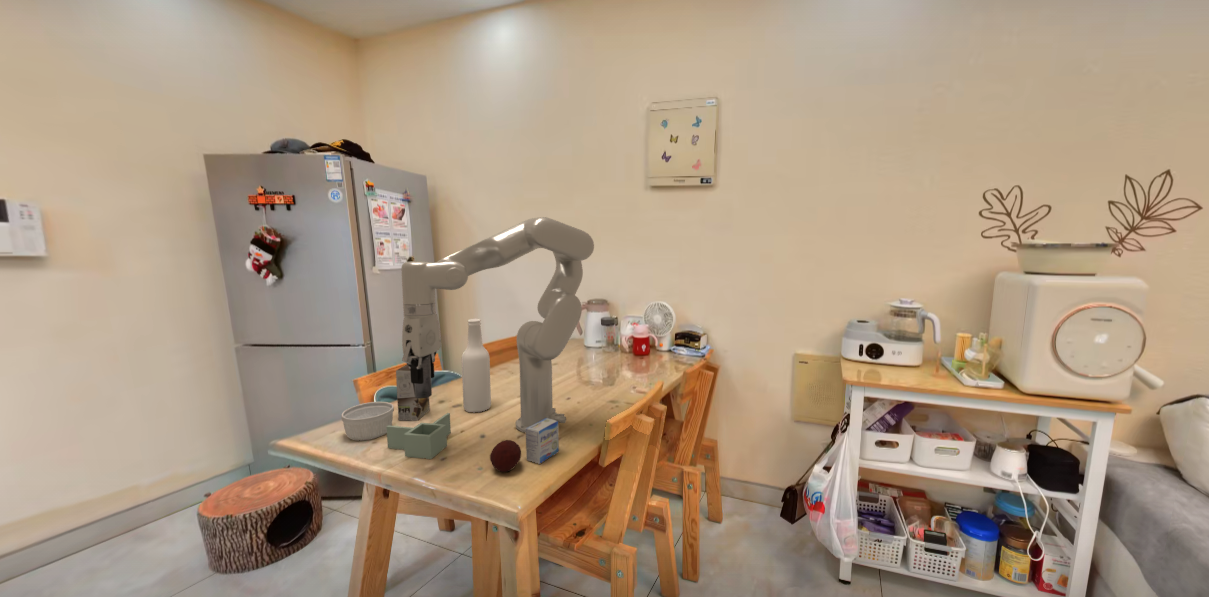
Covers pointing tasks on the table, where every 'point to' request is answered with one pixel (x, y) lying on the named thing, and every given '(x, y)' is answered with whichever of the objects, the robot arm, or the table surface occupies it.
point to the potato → (505, 455)
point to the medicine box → (542, 440)
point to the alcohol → (476, 371)
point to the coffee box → (409, 397)
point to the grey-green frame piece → (420, 438)
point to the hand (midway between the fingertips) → (422, 379)
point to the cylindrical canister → (424, 388)
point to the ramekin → (367, 420)
